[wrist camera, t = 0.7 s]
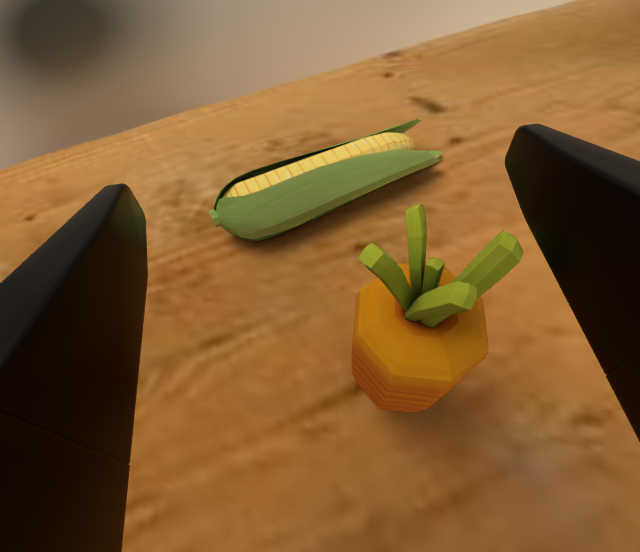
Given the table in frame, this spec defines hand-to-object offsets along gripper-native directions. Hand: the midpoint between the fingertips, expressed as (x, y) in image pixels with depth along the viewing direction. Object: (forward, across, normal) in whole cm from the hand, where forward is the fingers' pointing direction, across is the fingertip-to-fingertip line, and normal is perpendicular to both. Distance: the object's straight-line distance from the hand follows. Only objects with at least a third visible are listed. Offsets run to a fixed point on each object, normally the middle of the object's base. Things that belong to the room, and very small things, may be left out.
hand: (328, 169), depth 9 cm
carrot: (0, -3, +17) cm, 17 cm away
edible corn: (+16, -3, +15) cm, 22 cm away
